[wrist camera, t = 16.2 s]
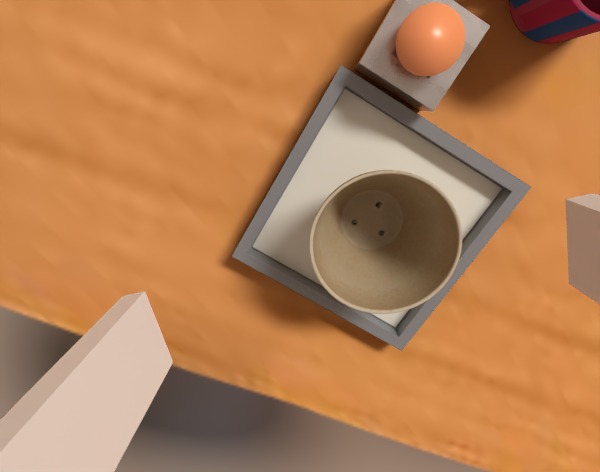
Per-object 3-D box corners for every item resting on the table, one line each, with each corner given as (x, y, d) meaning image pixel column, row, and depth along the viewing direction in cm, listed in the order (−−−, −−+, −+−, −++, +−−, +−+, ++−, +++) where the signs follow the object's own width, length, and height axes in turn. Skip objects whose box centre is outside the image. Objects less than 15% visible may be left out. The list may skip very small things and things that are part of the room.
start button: (377, 59, 28) (385, 53, 24) (411, 3, 26) (423, -12, 23) (424, 90, 28) (438, 88, 25) (460, 36, 27) (479, 26, 24)
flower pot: (374, 295, 35) (387, 340, 28) (287, 224, 33) (278, 254, 27) (459, 212, 32) (496, 239, 26) (368, 130, 31) (381, 136, 24)
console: (354, 68, 30) (359, 62, 26) (400, -10, 28) (412, -28, 25) (419, 110, 31) (433, 111, 27) (468, 36, 29) (490, 26, 25)
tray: (236, 247, 35) (231, 256, 33) (339, 67, 30) (341, 64, 28) (397, 337, 37) (401, 350, 35) (518, 182, 32) (531, 187, 30)
